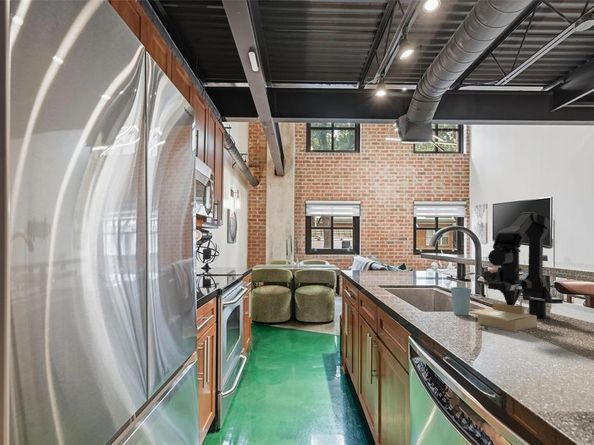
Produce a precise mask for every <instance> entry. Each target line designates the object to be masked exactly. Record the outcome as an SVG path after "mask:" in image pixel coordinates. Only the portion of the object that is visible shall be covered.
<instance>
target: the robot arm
mask: <svg viewBox="0 0 594 445" xmlns="http://www.w3.org/2000/svg"><path fill="white" fill-rule="evenodd" d="M550 227H551V222H550V219H549V218H547V217H546V216H543V215H541V214H538V213H536V212H535V211H523V212H520V213H519V216H518V217H517V218H516V220H515V221H514V222H513V223H512V224H511V225H510V226H508V227H505V228H504V227H503V228H502V229H501V230H499V231H498V233H497V234H496V237H495V239H494V243H493V245H492V250H491V251H490V252H489V253H488V255H487V256H488V257H487V258H488V262H489V263H490V264H491V265H493V266H494V267H495V266H496V267H497V270H496V271H495V272H494V271H493V272H492V271H490V270H486V271H483V277H482V279H483V280H485V281H486V284H487V289H489V290H494V291H495V290H496V291H499V292H501V293H502V295H503V297H504V299H505V302H506V303H505V304H508V305H514V306H516V303H517V301H518V300H519V297H520V296H521V295H522V300H523V301H528V314H529V315H535V316H537V319H542V320H543V319H548V318H550V317H551V315H548V314H547V304H550V303H551V304H552V303H553V296H552V294H551V292H550V289H549V287H548V282H547V281H546V279H545V277H544V276H543V266H544V264H543V263H544V262H543V261H544V240H545V238H546V236H548V234H549V230H550ZM524 234H525V235H526V237H527V238H528V271H527V272H528V274H527V276H526V277H525V278H523V279H522V278H520V272H522V271H523V270H522V269H523V268H522V267H520V253H521V249H520V248H521V246H522V244H523V242H524V239H525V238H524ZM499 266H500V267H499ZM520 287H521V288H520Z"/></svg>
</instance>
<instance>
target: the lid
mask: <svg viewBox="0 0 594 445" xmlns="http://www.w3.org/2000/svg"><path fill="white" fill-rule="evenodd" d="M524 309H525V307H524V306H519V305H508V304H507V303H502V302H495V301H494V302H492V307H490V308H484V309H478V310H472V311H469V314H471V315H476V316H478V315H481V316H486V317H491V318H496V319H501V320H506V321H510V320H514V319H519V318H524V317H529V316H530V315H529V313H525V312H524Z"/></svg>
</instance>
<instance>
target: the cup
mask: <svg viewBox="0 0 594 445" xmlns="http://www.w3.org/2000/svg"><path fill="white" fill-rule="evenodd" d="M450 293H451V294H450V295H451V303H452V304H451V305H452V309H453V310H452V311H453V315H457V316H469V314H470V302H471V296H472V288H468V287H459V286H457V287H456V286H452V287H450Z"/></svg>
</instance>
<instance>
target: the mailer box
mask: <svg viewBox="0 0 594 445" xmlns="http://www.w3.org/2000/svg"><path fill="white" fill-rule="evenodd" d="M537 323H538V318H537V316H535V315H530V316H529V317H524V318H519V319H514V320H510V321H506V320H501V319H496V318H491V317H486V316H481V315H477V325H481V326H486V327H489V328H493V327H494V329H498V330H503V331H506V332H507V331H508V332H512V333H520V332H524V331H529V330H531V329H535V328H537V327H538V324H537Z"/></svg>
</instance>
